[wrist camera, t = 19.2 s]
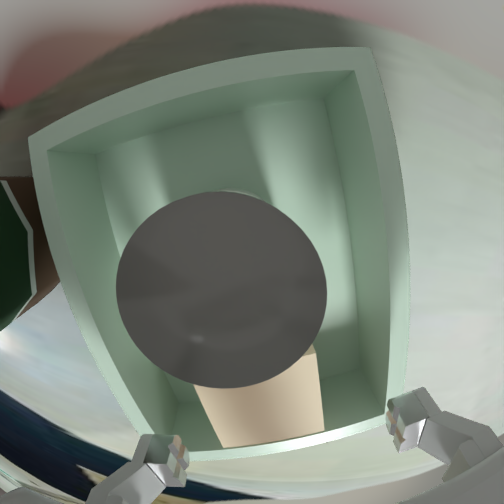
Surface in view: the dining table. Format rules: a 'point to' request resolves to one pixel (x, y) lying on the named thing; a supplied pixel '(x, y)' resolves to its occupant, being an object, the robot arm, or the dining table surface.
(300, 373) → the beech cube
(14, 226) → the beer bottle
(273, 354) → the white jar
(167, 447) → the robot arm
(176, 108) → the tote
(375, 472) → the dining table surface
